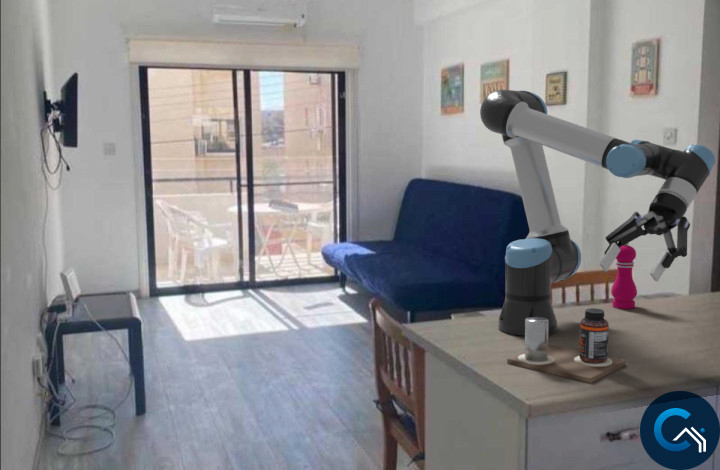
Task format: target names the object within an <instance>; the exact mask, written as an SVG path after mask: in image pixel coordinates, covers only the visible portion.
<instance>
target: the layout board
mask: <svg viewBox="0 0 720 470" xmlns="http://www.w3.org/2000/svg"><path fill="white" fill-rule="evenodd" d="M579 351H580V350H577V349H572V348H568V347H563V346H557V345H554V344H549V343H548V360H547V361H543V362H533V361H528V360H526V359H525V351H522V352H520V353H518V354H515V355H513V356H511V357H508V358H507V359H506V363H507V364H509V365H514V366H518V367H523V368H527V369H531V370H535V371H538V372H542V373H548V374H550V375H551V374H552V375H555V376H559V377H564V378H567V379H571V380H575V381H578V382H579V381H580V382H584V383H588V384H592V383H595V381H597V380H599V379H601V378H603V377H605V376H607V375H608V374H610V373H612V372H614V371H616V370H617V369H620V368H621V367H624V366H625V365H626V360H625V359H620V358H615V357H611V356H608V357H607V361H606V362H604V363H588V362H584V361H583V360H581V359H580V355H579V353H580V352H579Z"/></svg>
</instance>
